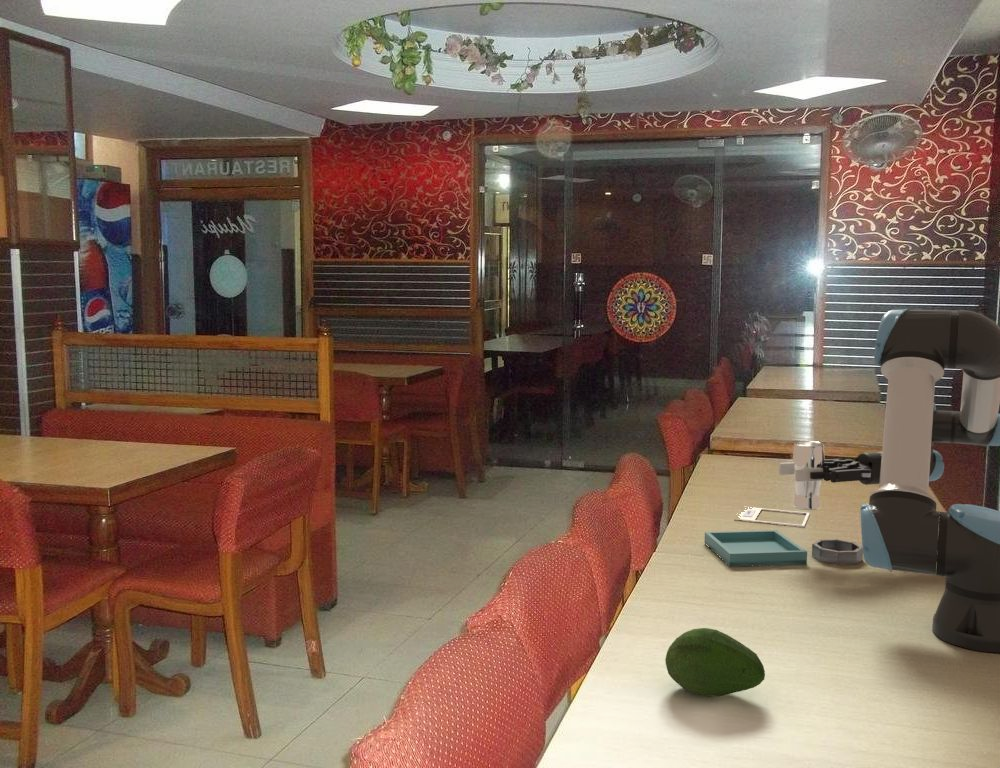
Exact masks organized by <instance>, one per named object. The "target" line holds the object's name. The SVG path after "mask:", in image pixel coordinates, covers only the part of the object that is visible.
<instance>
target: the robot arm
mask: <svg viewBox="0 0 1000 768" xmlns="http://www.w3.org/2000/svg"><path fill="white" fill-rule="evenodd" d="M875 338H876V340H875V345H874V346H875V347H874V352H873V353H874V355H873V357H874V358H873V361H874V365H876V366H879V367H880V373H881V374H882V376H883V377H885V378H886V380H887V388H886V389H887V391H886V402H885V414H884V426H883V439H882V449H881V450H882V451H877V452H876V451H874V452H873V451H868V452H861V453H859V454H858V456H857V457H856V458H855V460H854V459H843V460H842V459H841V458H840V457H837V458H825V459H824V471H823V468H816V469H795V480H794V482H795V481H796V482H798V481H819V480H822V481H826V482H828V481H830V482H831V483H842V482H843V483H845V482H846V483H847V482H855V481H856V482H857V481H859V482H860V483H861V484H863V485H865V486H869V485H879V486H878V489H876V490H874V491H873V492H872V493H870V495H869V501H868V502H869V503H867V502H865V503H862V504H861V505H860V507H859V509H860V512H859V513H860V530H861V531H860V532H861V545H862V546H861V547H863V559H864V560H863V561H865V563H866V564H867V565H869V566H870V567H872V568H877V569H883V570H887V571H889V572H893V571H897V572H904V573H914V574H921V575H927V576H928V575H930V576H937V577H945V584H944V585H945V586H944V592H943V594H942V596H941V598H940V601H939V603H938V606H937V608H936V611H935V612H934V614H933V616H932V627H931V631H932V633H933V634H934V635H935V636H936V637H938V638H939V639H940V640H942V641H945V642H946V643H949V644H952V645H955V646H957V647H960V648H965V649H969V650H974V651H979V652H985V653H1000V510H996V509H994V508H989V507H987V506H985V507H984V506H980V505H975V504H970V503H968V504H967V503H966V504H962V503H954V504H952V505H950V507H949V508H948V511H946V512H945V511H938V510H937V506H938V504H937V501H936V499H934V497H932V496H931V494H929V490H930V489H929V487H930V486H929V485H930V482H935V481H937V480H939V479H940V478H941V477H942V476H943V474H944V470H945V462H943V460H944V458H943V456H942V453H940V452H939V451H937V450H935V449H934V443H942V444H943V443H944V444H957V445H958V444H959V445H969V446H971V445H972V446H982V447H990V446H991V447H999V446H1000V413H999V410H1000V326H999V325H998V324H997V323H996V322H995V321H993V320H992V319H990V318H989V317H988V316H986V315H983V314H982V313H979V312H976V311H972V310H967V309H958V310H956V309H955V310H953V309H952V310H951V309H950V310H949V309H911V308H905V309H890V310H888V311H886V312H885V313H884V314H883V315H882V317H881V320H880V322H879V326H878V329H877V334H876V337H875ZM945 369H961V370H962V372H963V375H962V385H961V389H962V390H961V399H960V410H959V411H958V410H944V409H937V407H936V403H935V392H936V391H935V388H936V382H939V381H940V380H941V379H942V378H944V375H945ZM778 467H779V470H778V471H779V472H778V475H781V476H784V475H786V476H787V475H794V473H793V461H792V462H779V466H778Z"/></svg>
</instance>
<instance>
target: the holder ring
mask: <svg viewBox="0 0 1000 768" xmlns="http://www.w3.org/2000/svg"><path fill="white" fill-rule="evenodd" d="M811 544H812V546H811V557H813V558H814V559H816V560H817V561H818V562H822V563H825V564H831V565H836V566H849V565H851V566H853V565H854V566H856V565H857V564H859V563H860V562H862V561H864V560H863V559H864V555H863V546H861V545H860V544H858V543H857V542H854V541H850V540H844V539H838V538H827V539H821V538H820V539H817V540H815V541H814V542H812V543H811Z"/></svg>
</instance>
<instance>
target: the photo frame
mask: <svg viewBox="0 0 1000 768" xmlns="http://www.w3.org/2000/svg"><path fill="white" fill-rule="evenodd" d="M747 507H748V509H747V510H744V511H745V512H741V514H739V515H740V516H741V517H740V516H738V517H739V518H740V520H748V521H755V522H764V523H771V524H770V525H773V524H778V525H777V526H783V525H786V526H785V527H792V526H796V527H795V528H802V527H803V529H805V526H806V524H807V522H808V519H809V517H810V513H811V512H805V511H797V510H796V511H795V510H783V509H775V508H774V509H773V508H763V507H753V506H747ZM749 507H750V508H752V507H753V508H752V509H749ZM745 509H746V508H745ZM762 509H765V510H772V511H780V512H779V513H782V512H789V513H788V514H793V513H797V514H796V515H805V517H804V518H803V522H802V524H797V523H787V522H786V523H785V522H778V521H777V522H776V521H769V520H768V521H765V520H758V517H759V516H760V514H761V513H760V511H761V510H762ZM772 511H771V512H772ZM761 512H762V511H761ZM759 513H760V514H759ZM758 515H759V516H758ZM757 516H758V517H757ZM756 518H757V519H756ZM755 519H756V520H755Z"/></svg>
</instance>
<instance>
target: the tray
mask: <svg viewBox="0 0 1000 768" xmlns="http://www.w3.org/2000/svg"><path fill="white" fill-rule="evenodd" d="M704 543H705V544H707V545H708V546H709V547H710V548H711V549H712V550H713V551H714V552H715V553H716V554H718V556H720V557H721V558H722V559H723V560H724V561H725V562H726V563H727V564H728V565H729V566H739V567H763V566H762V565H765V566H764V567H766V566H767V565H768V566H770V565H772V566H798V565H799V566H800V565H802V566H805V565H806V566H807V565H808V550H806V549H804V548H803V547H802V546H800V545H799V544H797V543H796V542H794V541H793V540H791V539H790V538H788V537H787V536H786V535H784V534H783V533H781V532H780V531H779V530H777V529H776V530H775V529H773V530H771V529H769V530H767V529H766V530H763V529H762V530H733V531H727V530H726V531H704ZM705 544H704V545H705ZM711 549H710V550H711ZM712 550H711V551H712ZM713 551H712V552H713ZM714 552H713V553H714ZM715 553H714V554H715ZM716 554H715V555H716ZM718 556H717V557H718ZM723 560H722V561H723ZM724 561H723V562H724ZM725 562H724V563H725ZM726 563H725V564H726ZM727 564H726V565H727ZM728 565H727V566H728ZM752 565H753V566H752ZM759 565H761V566H759ZM729 566H728V567H729Z"/></svg>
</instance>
